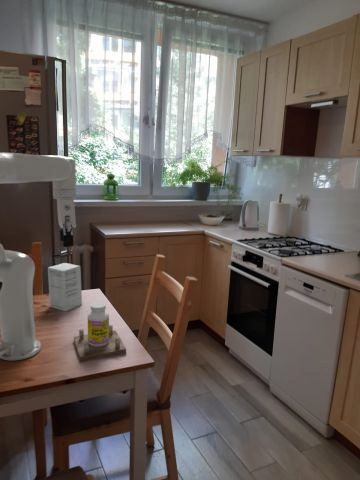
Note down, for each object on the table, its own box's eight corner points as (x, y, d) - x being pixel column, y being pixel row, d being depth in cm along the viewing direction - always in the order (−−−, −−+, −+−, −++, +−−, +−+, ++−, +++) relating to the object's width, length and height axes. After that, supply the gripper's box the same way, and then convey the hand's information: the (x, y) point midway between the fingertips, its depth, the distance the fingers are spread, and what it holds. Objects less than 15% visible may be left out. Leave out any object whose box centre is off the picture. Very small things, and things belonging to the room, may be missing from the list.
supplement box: (82, 304, 153) (81, 265, 150) (65, 312, 146) (64, 271, 142) (66, 300, 158) (64, 262, 155) (48, 306, 150) (47, 267, 147)
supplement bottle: (88, 348, 114) (87, 309, 112) (87, 339, 121) (86, 302, 118) (110, 346, 116) (109, 308, 114) (108, 336, 123) (107, 300, 120)
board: (126, 353, 115) (126, 340, 114) (80, 361, 110) (80, 347, 109) (115, 334, 128) (115, 322, 127) (73, 341, 122) (73, 328, 121)
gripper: (80, 196, 119) (81, 248, 122) (72, 192, 134) (74, 238, 138) (55, 196, 116) (57, 249, 119) (51, 192, 131) (53, 239, 135)
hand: (66, 243), depth 128 cm, fingers open, 9 cm apart
